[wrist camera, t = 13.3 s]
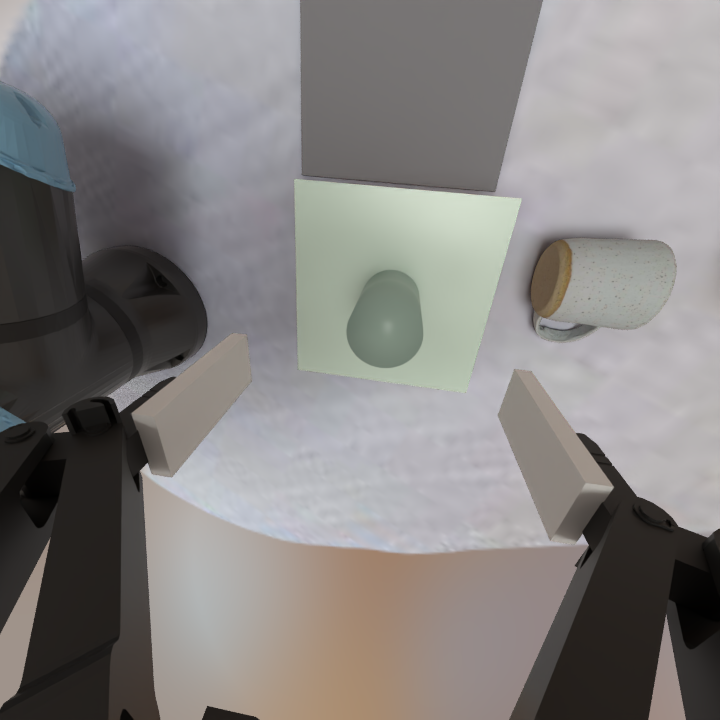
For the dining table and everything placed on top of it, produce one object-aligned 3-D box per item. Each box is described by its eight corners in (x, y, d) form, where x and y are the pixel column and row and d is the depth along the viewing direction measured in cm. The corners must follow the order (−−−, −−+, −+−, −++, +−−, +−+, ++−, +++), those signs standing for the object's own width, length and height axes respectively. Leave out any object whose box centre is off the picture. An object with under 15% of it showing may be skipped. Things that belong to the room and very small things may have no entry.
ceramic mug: (539, 231, 30) (577, 244, 23) (633, 234, 29) (700, 248, 22) (512, 334, 35) (536, 368, 28) (591, 339, 34) (635, 376, 27)
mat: (303, 175, 30) (301, 174, 30) (301, -125, 22) (299, -132, 21) (493, 191, 29) (495, 191, 28) (571, -124, 20) (575, -131, 20)
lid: (301, 364, 33) (266, 418, 25) (298, 179, 25) (247, 171, 17) (464, 386, 32) (483, 451, 24) (516, 198, 24) (573, 199, 16)
